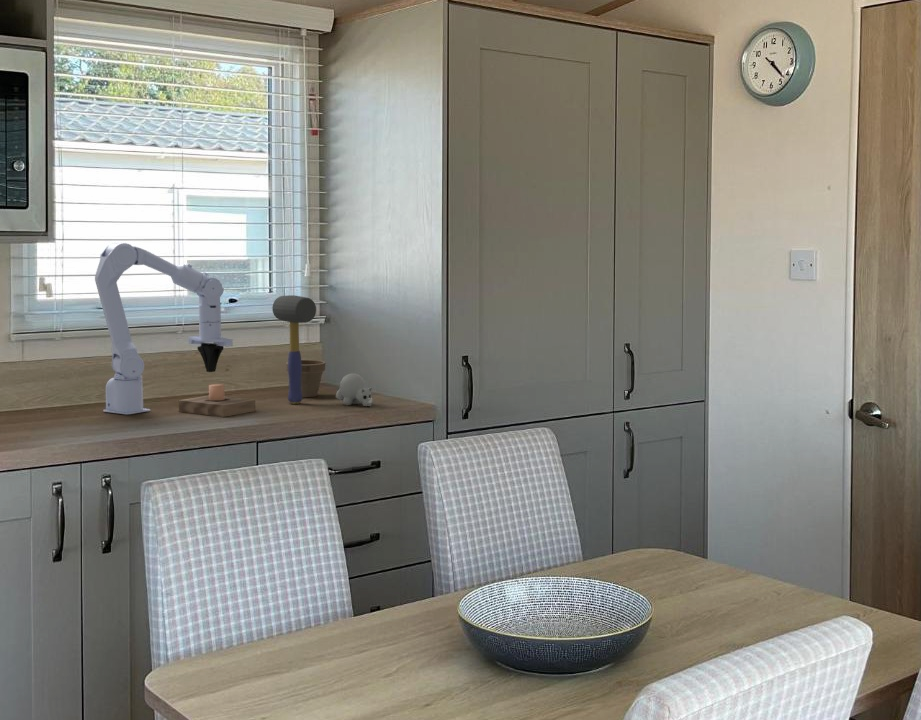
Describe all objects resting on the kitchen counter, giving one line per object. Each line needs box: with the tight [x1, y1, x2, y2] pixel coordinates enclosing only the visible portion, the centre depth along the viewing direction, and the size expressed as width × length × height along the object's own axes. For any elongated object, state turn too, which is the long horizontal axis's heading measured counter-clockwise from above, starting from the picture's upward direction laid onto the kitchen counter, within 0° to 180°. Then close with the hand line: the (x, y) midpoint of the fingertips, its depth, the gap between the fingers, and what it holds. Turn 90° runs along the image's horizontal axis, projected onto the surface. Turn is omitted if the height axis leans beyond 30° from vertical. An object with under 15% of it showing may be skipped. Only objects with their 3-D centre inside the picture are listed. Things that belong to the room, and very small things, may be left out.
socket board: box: [178, 395, 256, 418], centre depth 299 cm, size 16×12×3 cm
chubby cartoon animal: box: [335, 373, 373, 407], centre depth 310 cm, size 7×12×8 cm, turn 45°
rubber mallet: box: [271, 295, 317, 405], centre depth 311 cm, size 12×8×30 cm, turn 43°
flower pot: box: [285, 359, 327, 398], centre depth 327 cm, size 12×11×10 cm
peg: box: [208, 383, 226, 402], centre depth 298 cm, size 4×4×7 cm
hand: (210, 371), depth 307 cm, fingers closed
